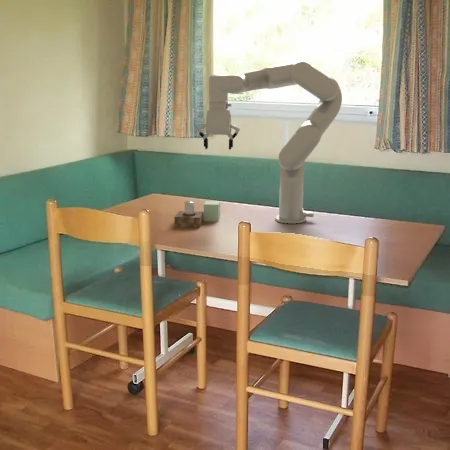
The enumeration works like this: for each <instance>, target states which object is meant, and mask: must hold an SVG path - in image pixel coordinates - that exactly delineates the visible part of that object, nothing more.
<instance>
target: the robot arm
mask: <svg viewBox="0 0 450 450" xmlns="http://www.w3.org/2000/svg"><path fill="white" fill-rule="evenodd" d="M295 85H299V87H301V89H302V88H303V90H305V91H307V92H308V93H310V94H311V95H313V96H314V97H316V98H317V99H319V101H318V104H317V105H316V106H315V108H314V109H313V111H312V112H311V113H310V115H309V116H308V117H307V118H306V120H304V122H303V123H302V124H301V125H300V126H298V128H297V130H296V131H295V132H294V134H293V135H292V136H291V138H289V140H288V142H286V143H285V145H284V146H283V147H282V149H281V150H280V152H279V154H278V158H277V159H278V163H279V166H280V170H279V198H278V199H279V200H278V202H279V203H278V205H279V206H278V214H277V215H276V216H274V220H275V221H276V222H278V223H281V224H287V223H288V224H289V225H290V224H293V225H294V224H296V223H297V224H302V223H305V222H306V221H307V218H314V217H315V216H314V212H313V211H305V210H304V208H303V206H304V202H303V201H304V182H305V180H304V179H305V162H306V160H307V159H308V157H309V156H310V155H311V154H312V153H313V151H314V150H315V149H316V147H317V146H318V145H319V143H320V141H321V139H322V137H323V135H324V134H325V132H326V131H327V129H328V128H329V127H330V125H331V124H332V123H333V121H334V120H335V119H336V117H337V116H338V114H339V112H340V110H341V107H342V101H343V96H342V91H341V88H340V85H339V83H338V81H337V80H336V79H335V78H333V77H329V76H327V75H326V74H324V73H323V72H321V71H320V70H319V69H317V68H316V67H314V66H313V65H312V64H311V63H310V62H309V61H307V60H299V61H294V62H293V61H292V62H288V63H282V64H277V65H270V66H267V67H264V68H263V69H262V68H261V69H258V70H253V71H247V72H241V73H235V74H229V75H226V74H223V73H221V74H218V73H217V74H210V75H209V77H208V109H207V110H206V114H205V115H206V118H205V124H203V125H200V126H199V127H197V128H196V131H197V132H198V134H199V136H200V137H202V139H203V147H205V148H204V149H205V150H208V148H209V138H208V137H209V135H210V136H212V135H213V136H214V135H215V136H227V137H228V138H229V139H228V150H231V149H232V148H233V147H234V139H235V137H237V136H238V134H239V132H240V130H241V128H240V127H238V126H236V125H234V124H233V123H232V116H231V111H230V109H229V108H231V107H232V103H229V102H228V101H229V100H228V96H229V95H228V94H233V95H239V94H242V93H245V92H251V91H257V90H262V89H263V90H264V89H269V90H272V89H278V88H279V89H280V88H284V87H290V86H295ZM203 129H205V133H204V132H203V131H202V130H203ZM232 130H234V133H233V134H232Z"/></svg>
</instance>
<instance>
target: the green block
mask: <svg viewBox="0 0 450 450" xmlns="http://www.w3.org/2000/svg"><path fill="white" fill-rule="evenodd" d="M203 212H204V221H203V222H220V220H221V201H220V200H219V201H217V200H216V201H214V200H211V201H210V200H205V201H204V203H203Z"/></svg>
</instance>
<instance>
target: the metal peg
mask: <svg viewBox="0 0 450 450" xmlns="http://www.w3.org/2000/svg"><path fill="white" fill-rule="evenodd" d="M184 211H185V216H194V211H195V201H194V200H193V201H192V200H185V201H184Z"/></svg>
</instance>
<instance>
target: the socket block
mask: <svg viewBox="0 0 450 450" xmlns="http://www.w3.org/2000/svg"><path fill="white" fill-rule="evenodd" d="M204 222H205V221H204V211H197V210H196V211H195V210H194V216H185V210H178V212H177V213H176V215H175V216H174V227H175V228H198V229H199V228H201V227H202V224H203V223H204Z"/></svg>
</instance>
